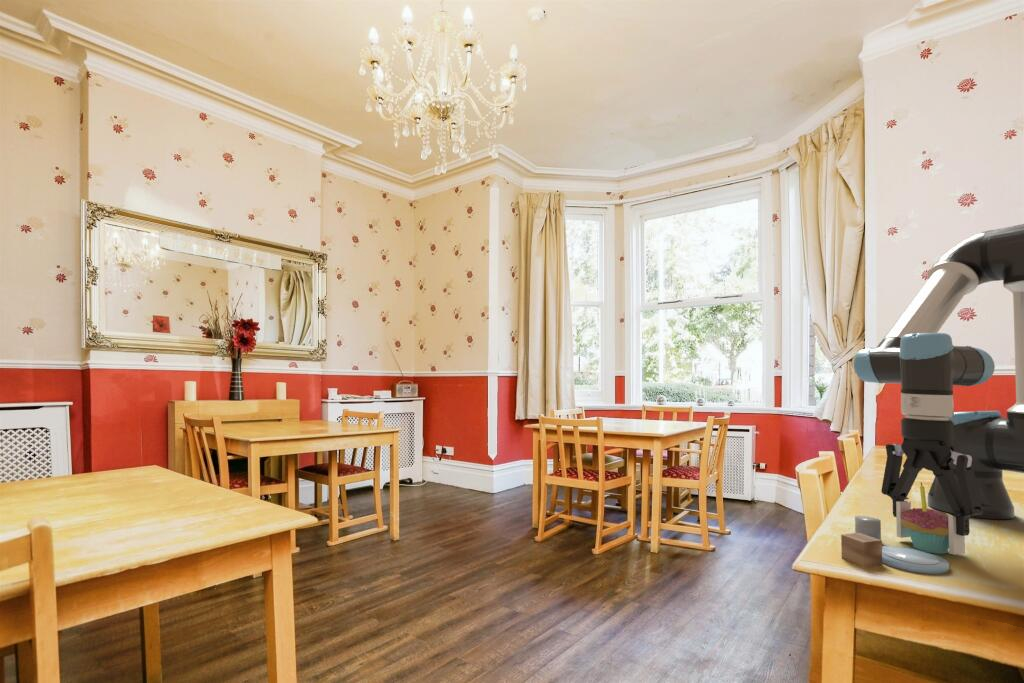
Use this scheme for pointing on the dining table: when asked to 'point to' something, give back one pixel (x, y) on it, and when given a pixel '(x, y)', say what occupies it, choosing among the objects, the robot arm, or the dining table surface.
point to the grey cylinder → (868, 526)
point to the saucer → (914, 560)
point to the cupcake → (927, 527)
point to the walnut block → (861, 549)
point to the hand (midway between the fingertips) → (929, 544)
